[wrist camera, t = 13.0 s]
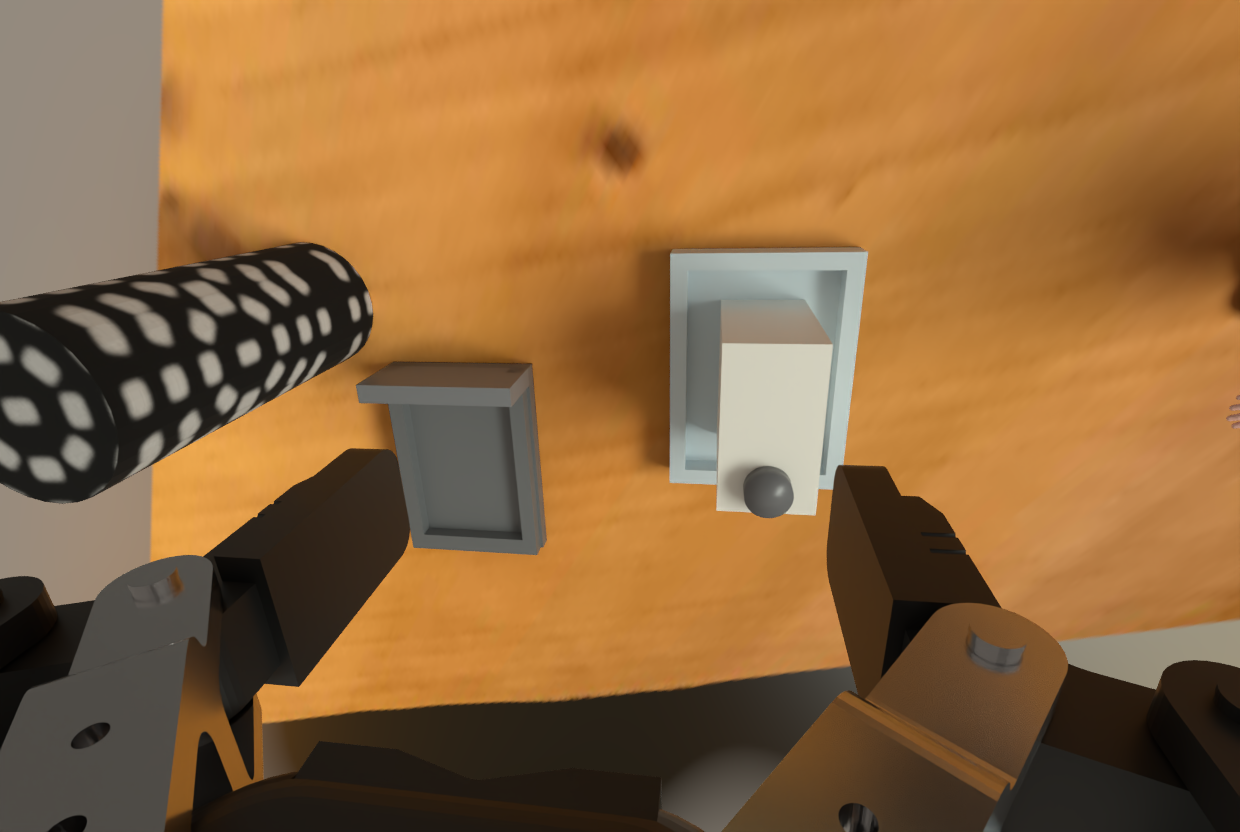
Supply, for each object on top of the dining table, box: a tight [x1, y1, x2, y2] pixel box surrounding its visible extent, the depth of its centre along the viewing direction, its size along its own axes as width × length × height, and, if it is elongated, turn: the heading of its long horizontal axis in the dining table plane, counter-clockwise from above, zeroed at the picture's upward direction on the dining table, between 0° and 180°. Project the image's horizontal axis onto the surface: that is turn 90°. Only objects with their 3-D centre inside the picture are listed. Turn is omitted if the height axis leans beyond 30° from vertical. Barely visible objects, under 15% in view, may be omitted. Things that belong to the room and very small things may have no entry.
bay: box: [356, 362, 547, 555], centre depth 44 cm, size 14×10×5 cm
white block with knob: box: [717, 300, 833, 518], centre depth 35 cm, size 9×5×11 cm, turn 2°
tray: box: [670, 247, 868, 489], centre depth 40 cm, size 15×11×2 cm
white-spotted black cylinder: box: [0, 243, 373, 504], centre depth 34 cm, size 8×8×20 cm
